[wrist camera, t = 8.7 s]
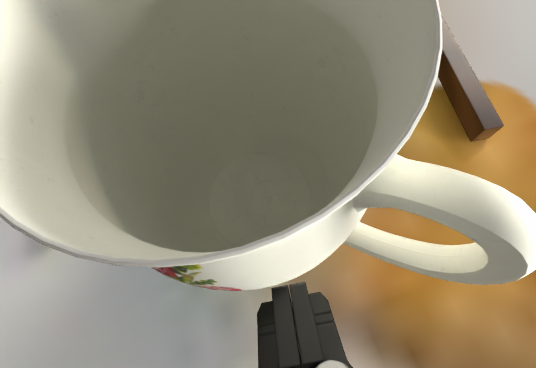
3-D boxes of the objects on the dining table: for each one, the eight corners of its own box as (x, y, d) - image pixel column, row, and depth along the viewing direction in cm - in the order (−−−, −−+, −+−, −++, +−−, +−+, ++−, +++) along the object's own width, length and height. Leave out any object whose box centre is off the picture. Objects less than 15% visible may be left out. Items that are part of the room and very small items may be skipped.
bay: (488, 138, 18) (504, 125, 17) (55, 228, 19) (36, 223, 18) (378, -70, 26) (382, -91, 25) (74, -2, 27) (62, -18, 26)
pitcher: (375, 379, 15) (966, 1044, 2) (113, 215, 19) (-269, 57, 6) (446, 196, 17) (868, -69, 5) (204, 91, 22) (73, -195, 9)
